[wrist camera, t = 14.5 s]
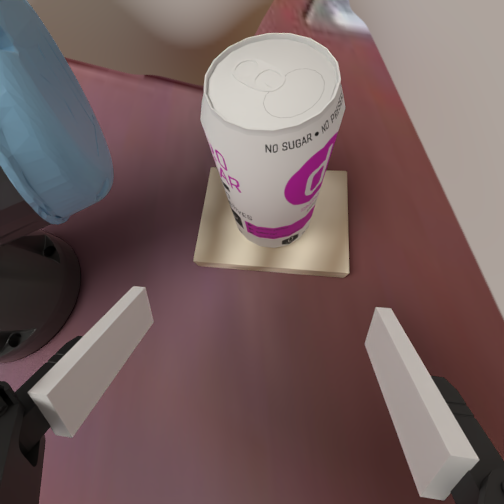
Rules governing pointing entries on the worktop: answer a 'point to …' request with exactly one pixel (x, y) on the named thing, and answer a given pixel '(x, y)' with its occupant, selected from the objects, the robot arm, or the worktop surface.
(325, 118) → the supplement can
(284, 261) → the birch board
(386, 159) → the worktop surface
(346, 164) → the worktop surface
